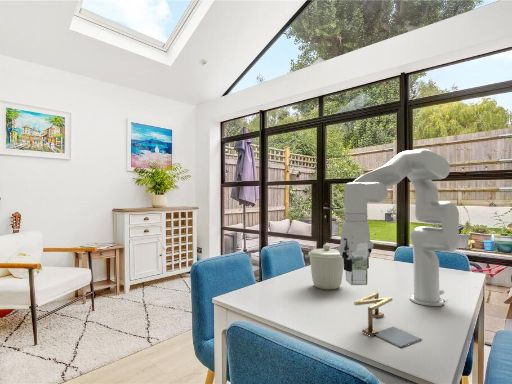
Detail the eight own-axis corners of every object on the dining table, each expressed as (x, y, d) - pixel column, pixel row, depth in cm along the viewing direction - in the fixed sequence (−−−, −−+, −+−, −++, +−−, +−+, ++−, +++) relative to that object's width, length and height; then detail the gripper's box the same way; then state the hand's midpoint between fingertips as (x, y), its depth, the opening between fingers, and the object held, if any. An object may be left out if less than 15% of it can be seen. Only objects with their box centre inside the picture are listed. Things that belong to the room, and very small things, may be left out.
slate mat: (393, 328, 104) (393, 326, 104) (421, 340, 95) (421, 338, 95) (373, 334, 99) (373, 333, 99) (400, 348, 91) (400, 346, 91)
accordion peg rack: (376, 313, 117) (375, 290, 117) (406, 325, 106) (405, 300, 106) (342, 322, 109) (342, 298, 109) (371, 337, 98) (370, 310, 98)
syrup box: (361, 280, 109) (361, 239, 109) (368, 285, 103) (367, 242, 103) (345, 280, 109) (345, 239, 109) (351, 285, 103) (350, 242, 103)
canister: (303, 289, 148) (303, 245, 148) (314, 280, 164) (314, 240, 164) (341, 294, 139) (341, 248, 140) (349, 284, 155) (348, 242, 156)
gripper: (364, 216, 113) (365, 264, 113) (329, 218, 105) (329, 270, 105) (381, 217, 107) (382, 268, 107) (345, 220, 98) (346, 275, 98)
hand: (356, 269), depth 106 cm, fingers closed on syrup box, 7 cm apart
